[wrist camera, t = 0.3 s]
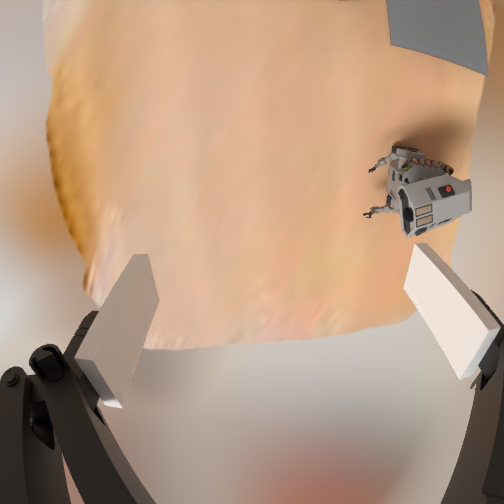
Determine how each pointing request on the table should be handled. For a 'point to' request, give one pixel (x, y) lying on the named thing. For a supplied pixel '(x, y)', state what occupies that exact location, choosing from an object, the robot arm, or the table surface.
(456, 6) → the mat
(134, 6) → the table surface
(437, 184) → the figurine
